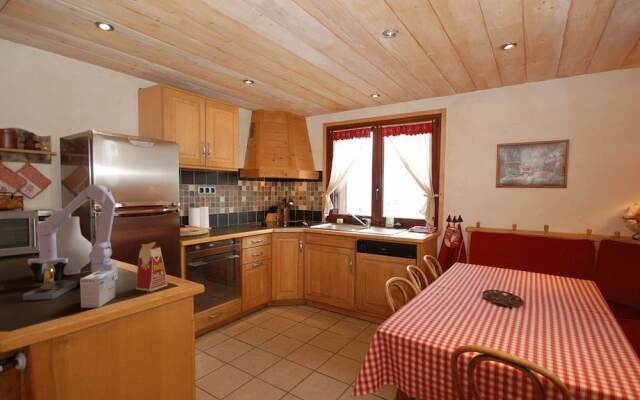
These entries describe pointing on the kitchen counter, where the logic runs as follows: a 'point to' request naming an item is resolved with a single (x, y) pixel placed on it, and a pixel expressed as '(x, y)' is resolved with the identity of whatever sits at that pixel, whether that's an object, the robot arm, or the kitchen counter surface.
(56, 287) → the manifold plate
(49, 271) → the brass nipple
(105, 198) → the robot arm
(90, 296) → the light bulb box
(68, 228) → the vase
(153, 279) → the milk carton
